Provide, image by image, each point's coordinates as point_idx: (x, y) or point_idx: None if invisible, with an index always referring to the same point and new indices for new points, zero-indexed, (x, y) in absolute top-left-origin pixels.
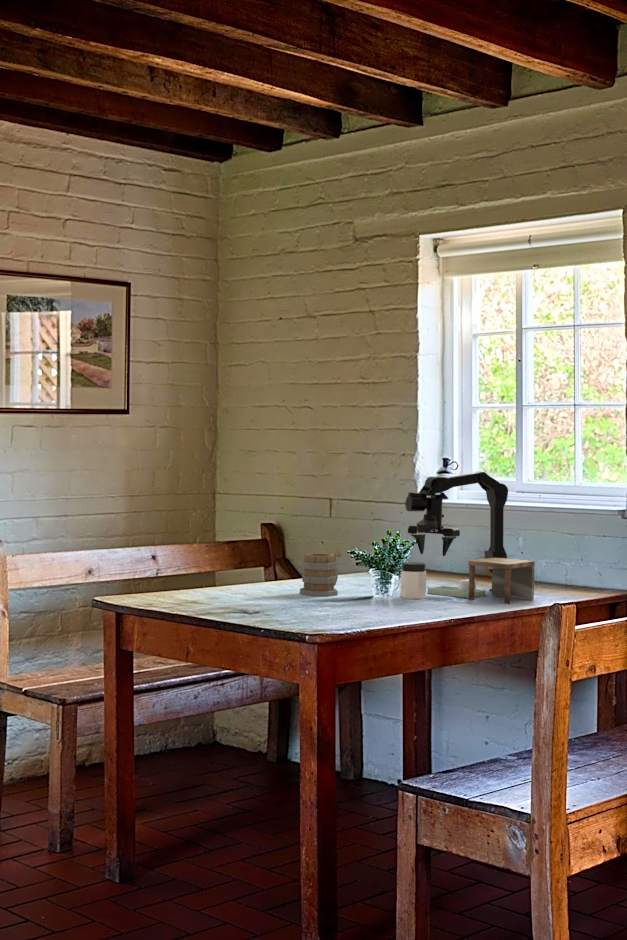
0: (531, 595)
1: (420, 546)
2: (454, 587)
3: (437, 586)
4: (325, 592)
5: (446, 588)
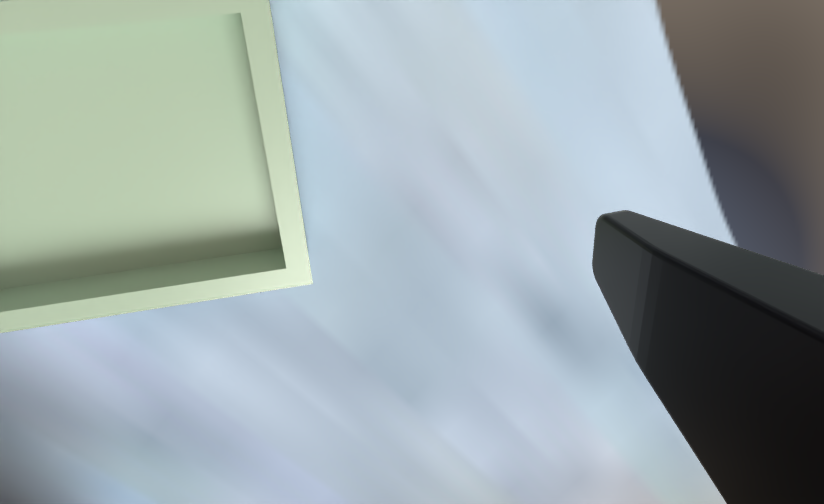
0: None
1: (742, 293)
2: (145, 288)
3: (291, 184)
4: None
5: (248, 262)
